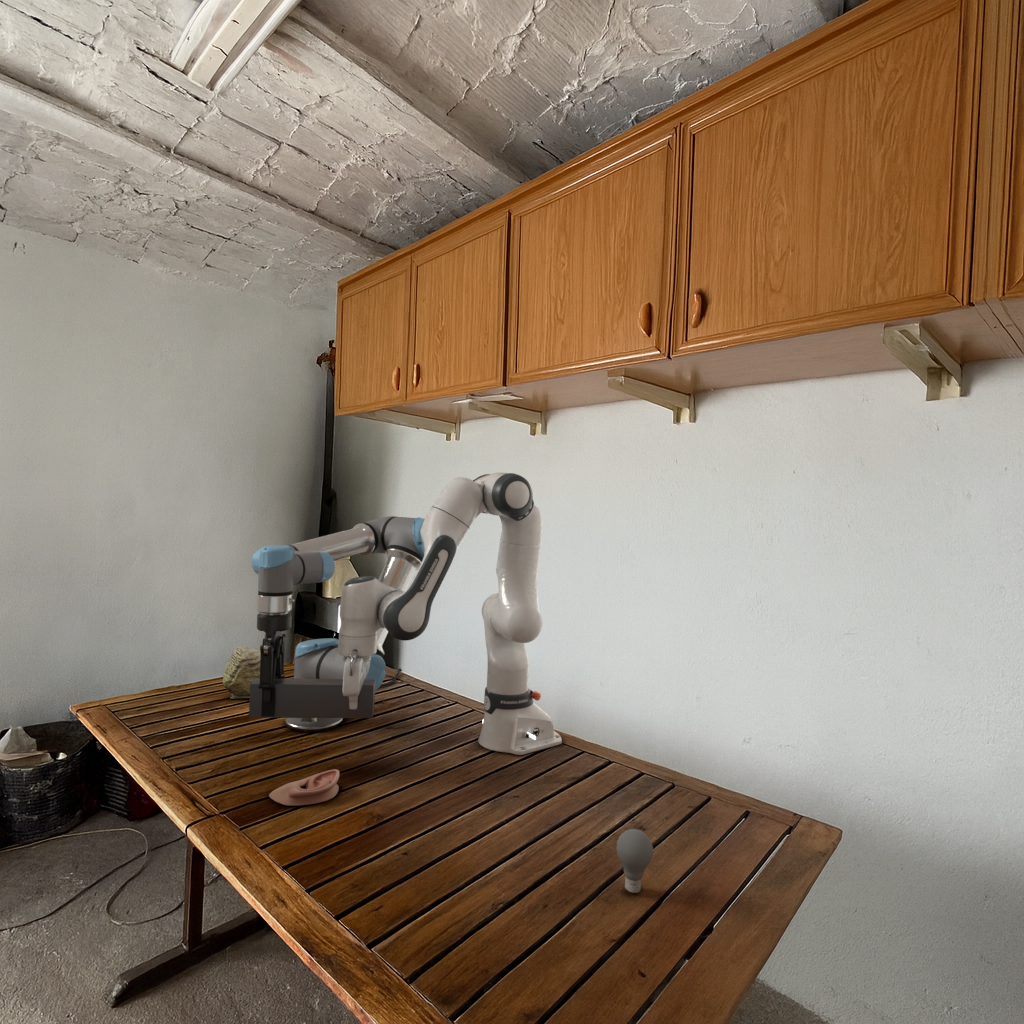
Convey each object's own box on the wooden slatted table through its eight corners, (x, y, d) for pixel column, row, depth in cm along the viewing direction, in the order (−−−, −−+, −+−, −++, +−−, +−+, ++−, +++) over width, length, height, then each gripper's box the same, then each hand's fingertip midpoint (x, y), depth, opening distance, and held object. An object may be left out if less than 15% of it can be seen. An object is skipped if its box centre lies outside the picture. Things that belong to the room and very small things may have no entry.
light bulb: (610, 879, 108) (613, 822, 108) (644, 879, 109) (647, 822, 109) (619, 902, 102) (622, 840, 102) (655, 901, 103) (658, 840, 103)
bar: (248, 717, 145) (250, 683, 145) (254, 711, 149) (255, 678, 149) (372, 718, 148) (373, 685, 148) (374, 711, 152) (375, 679, 152)
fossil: (218, 695, 195) (220, 647, 195) (278, 685, 208) (279, 640, 207) (228, 703, 189) (230, 653, 188) (289, 692, 201) (290, 645, 201)
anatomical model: (261, 782, 130) (291, 760, 141) (260, 801, 130) (290, 778, 141) (320, 791, 127) (346, 768, 139) (319, 811, 127) (345, 786, 139)
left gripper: (281, 620, 139) (277, 725, 139) (299, 606, 156) (296, 700, 157) (246, 619, 138) (242, 725, 138) (268, 605, 155) (264, 699, 156)
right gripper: (366, 656, 139) (363, 719, 140) (375, 636, 160) (373, 690, 160) (336, 656, 139) (334, 718, 139) (350, 635, 159) (348, 690, 159)
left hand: (270, 711), depth 148 cm, fingers closed on bar, 5 cm apart
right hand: (355, 703), depth 150 cm, fingers open, 5 cm apart
